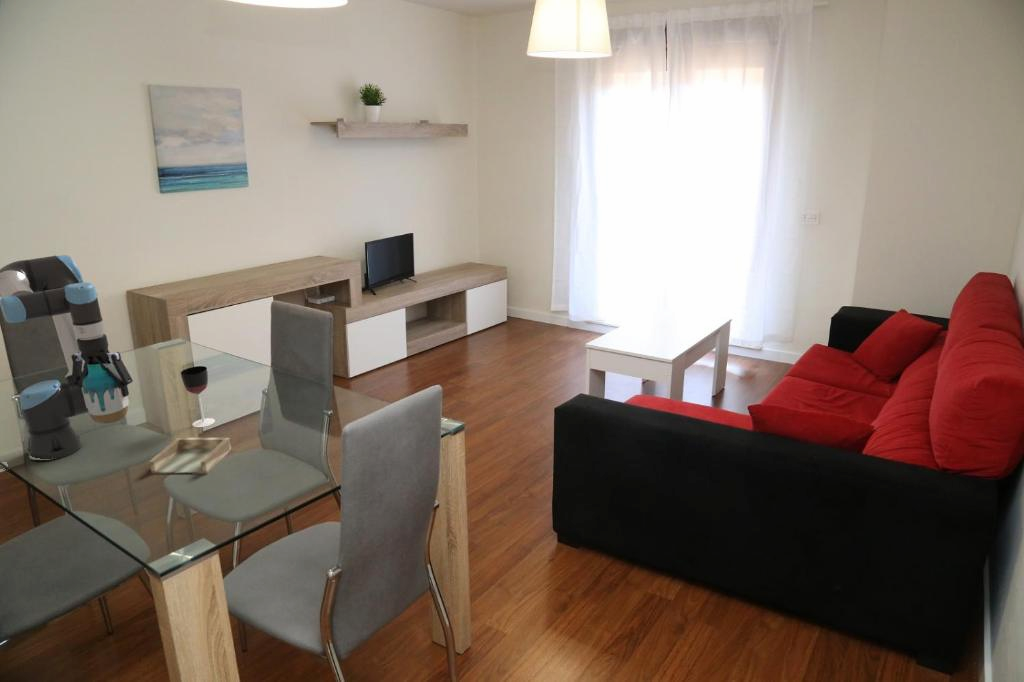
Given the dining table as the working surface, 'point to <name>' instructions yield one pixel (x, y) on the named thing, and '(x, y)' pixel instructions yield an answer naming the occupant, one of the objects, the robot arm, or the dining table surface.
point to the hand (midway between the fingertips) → (108, 406)
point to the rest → (191, 455)
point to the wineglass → (197, 388)
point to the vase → (102, 396)
